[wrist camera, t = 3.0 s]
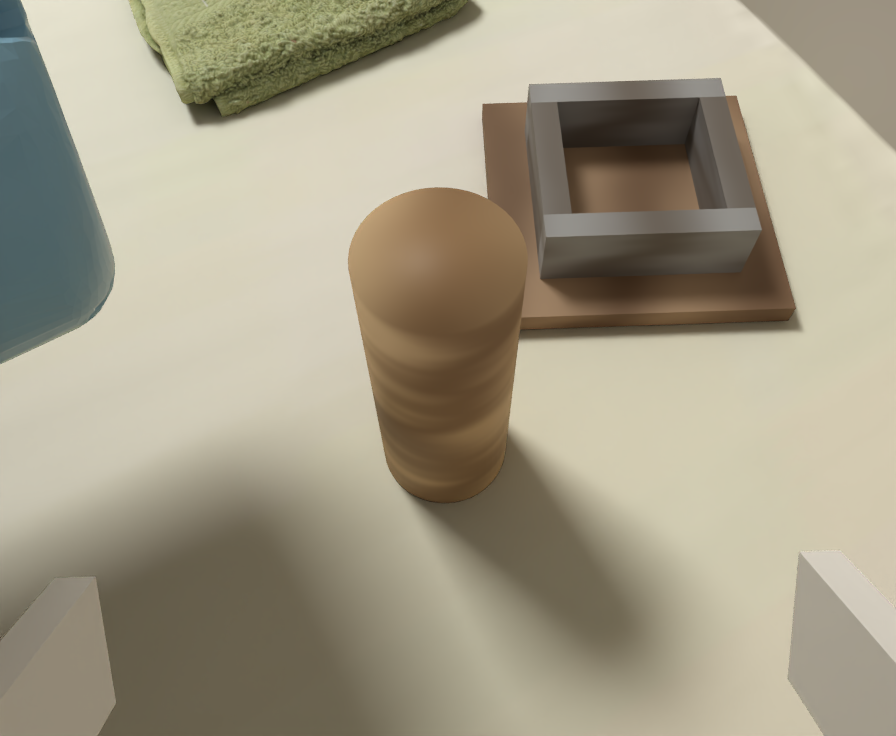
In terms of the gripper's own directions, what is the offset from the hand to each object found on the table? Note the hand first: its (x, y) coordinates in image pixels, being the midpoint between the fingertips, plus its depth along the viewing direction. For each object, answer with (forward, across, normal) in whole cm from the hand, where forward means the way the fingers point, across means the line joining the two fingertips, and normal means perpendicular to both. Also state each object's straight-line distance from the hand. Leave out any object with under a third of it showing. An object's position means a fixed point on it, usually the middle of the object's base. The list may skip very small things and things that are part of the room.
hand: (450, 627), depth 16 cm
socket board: (+27, +9, +5) cm, 29 cm away
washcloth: (+39, -8, +16) cm, 43 cm away
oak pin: (+19, 0, -4) cm, 19 cm away
